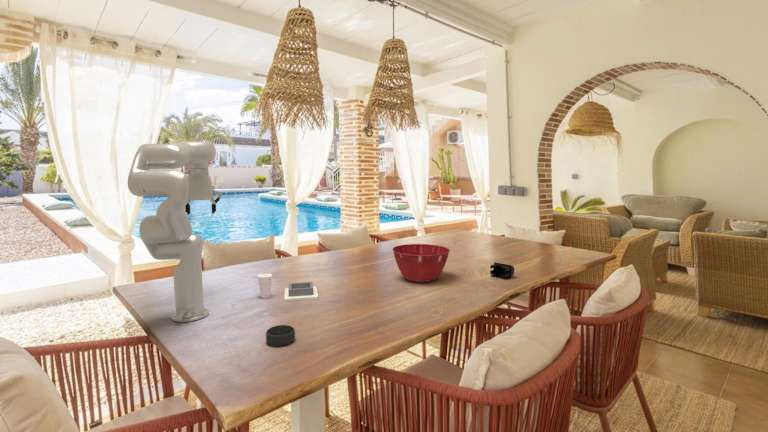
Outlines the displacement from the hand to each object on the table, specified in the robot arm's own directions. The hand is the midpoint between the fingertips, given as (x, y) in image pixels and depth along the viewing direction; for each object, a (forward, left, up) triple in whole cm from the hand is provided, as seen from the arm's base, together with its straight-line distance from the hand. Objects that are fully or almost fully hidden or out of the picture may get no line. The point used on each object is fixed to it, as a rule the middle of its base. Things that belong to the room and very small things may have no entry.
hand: (201, 213), depth 171 cm
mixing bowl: (+6, -99, -37) cm, 106 cm away
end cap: (0, -140, -37) cm, 145 cm away
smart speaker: (-55, -33, -37) cm, 74 cm away
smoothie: (-6, -25, -37) cm, 45 cm away
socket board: (-6, -40, -36) cm, 55 cm away
